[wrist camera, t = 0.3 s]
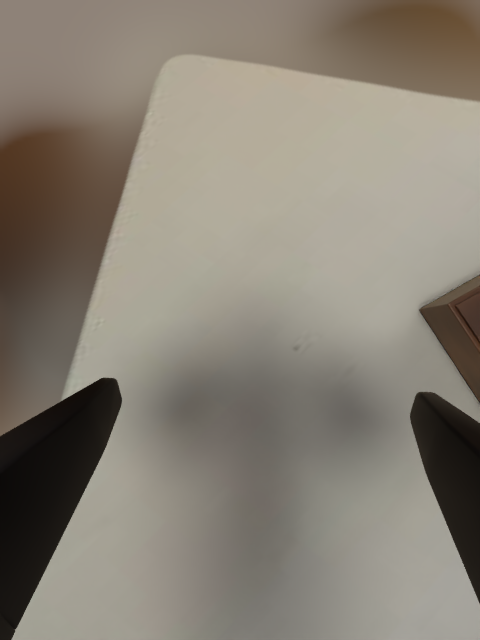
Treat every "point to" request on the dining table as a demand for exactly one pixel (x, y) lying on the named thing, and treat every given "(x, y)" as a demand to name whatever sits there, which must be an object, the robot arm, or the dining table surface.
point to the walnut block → (459, 328)
